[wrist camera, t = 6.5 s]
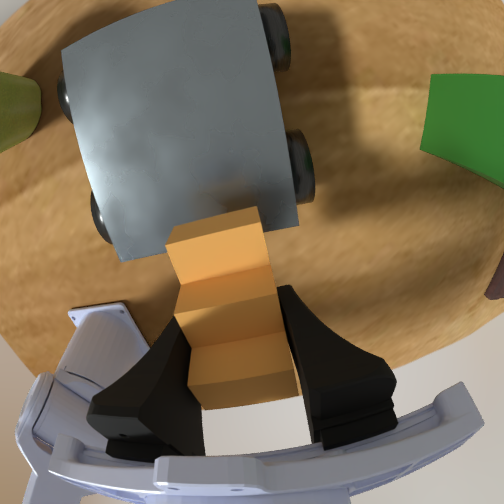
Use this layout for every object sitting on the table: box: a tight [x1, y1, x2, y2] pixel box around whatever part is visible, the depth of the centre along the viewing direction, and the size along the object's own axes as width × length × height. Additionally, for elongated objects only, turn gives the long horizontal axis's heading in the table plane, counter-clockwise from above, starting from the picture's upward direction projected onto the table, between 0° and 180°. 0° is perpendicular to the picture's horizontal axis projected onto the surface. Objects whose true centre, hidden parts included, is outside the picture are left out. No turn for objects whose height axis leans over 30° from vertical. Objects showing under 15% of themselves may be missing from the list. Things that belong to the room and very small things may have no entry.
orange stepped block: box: [165, 206, 299, 410], centre depth 11 cm, size 6×4×6 cm, turn 13°
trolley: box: [57, 0, 315, 262], centre depth 15 cm, size 14×14×6 cm
